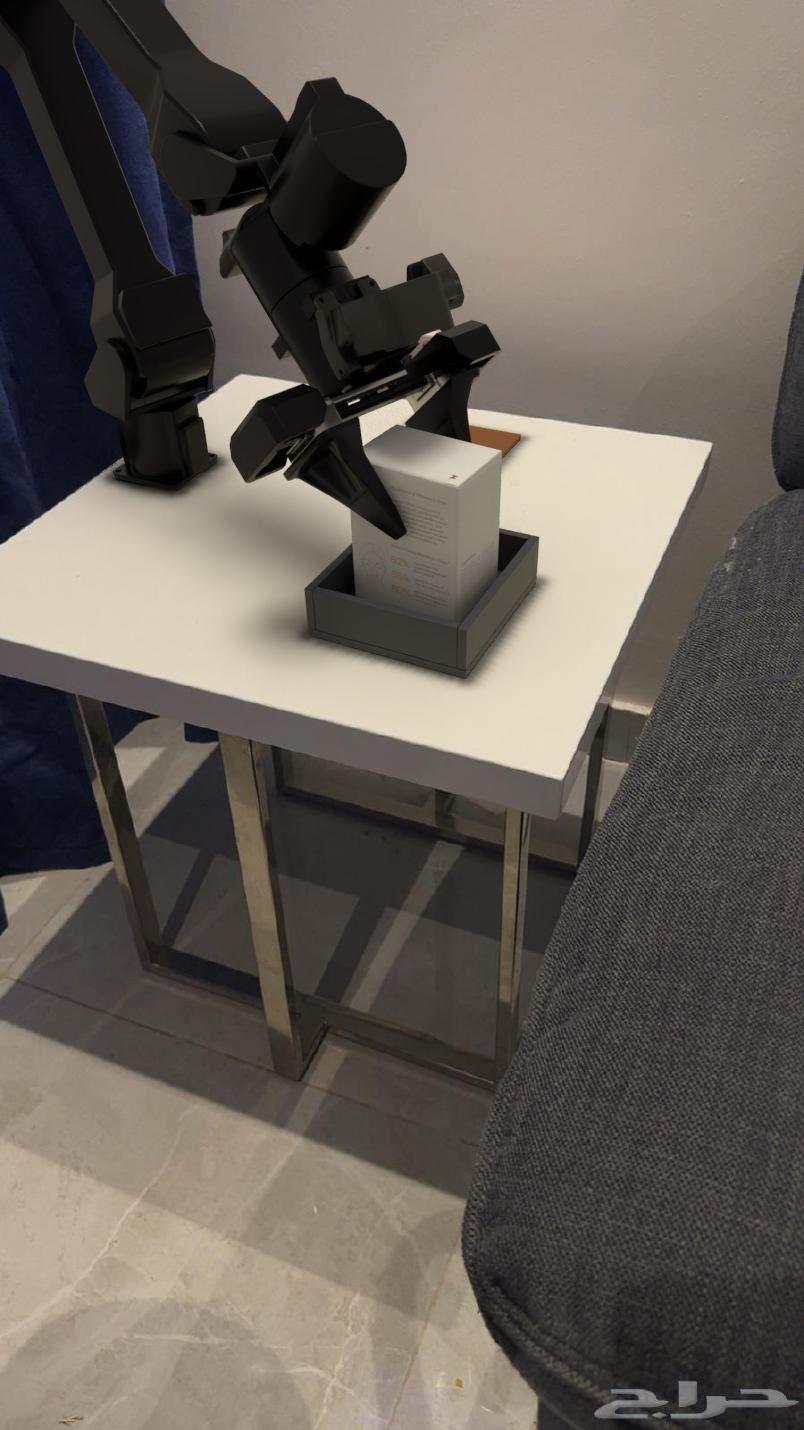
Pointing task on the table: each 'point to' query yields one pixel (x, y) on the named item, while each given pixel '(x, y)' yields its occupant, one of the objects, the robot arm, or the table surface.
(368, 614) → the bin
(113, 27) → the robot arm
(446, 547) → the small box
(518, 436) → the mat
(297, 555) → the table surface
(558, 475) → the table surface
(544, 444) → the table surface
